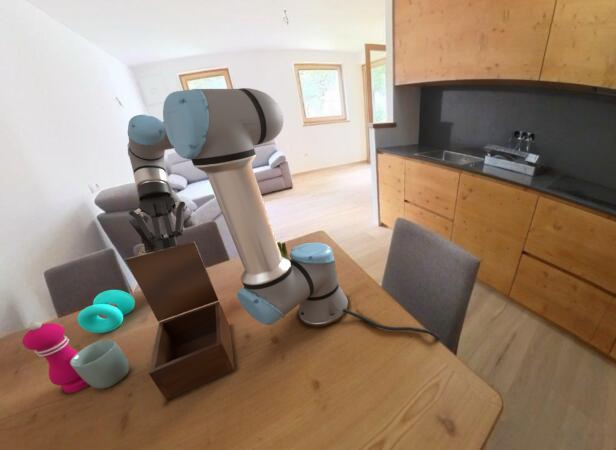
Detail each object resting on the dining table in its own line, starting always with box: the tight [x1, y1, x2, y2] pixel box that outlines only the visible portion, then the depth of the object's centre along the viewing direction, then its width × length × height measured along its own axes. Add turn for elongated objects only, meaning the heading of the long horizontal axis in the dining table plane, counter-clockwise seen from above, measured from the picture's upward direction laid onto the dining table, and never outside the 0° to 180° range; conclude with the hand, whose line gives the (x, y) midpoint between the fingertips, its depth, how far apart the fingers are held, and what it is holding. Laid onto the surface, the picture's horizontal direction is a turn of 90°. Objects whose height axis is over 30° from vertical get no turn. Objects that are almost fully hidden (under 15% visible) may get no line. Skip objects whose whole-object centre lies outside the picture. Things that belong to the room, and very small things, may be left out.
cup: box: [70, 338, 130, 390], centre depth 68 cm, size 8×8×10 cm
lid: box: [125, 240, 219, 322], centre depth 73 cm, size 19×14×1 cm
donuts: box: [77, 289, 136, 334], centre depth 86 cm, size 10×10×10 cm
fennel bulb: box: [277, 241, 291, 260], centre depth 109 cm, size 6×5×12 cm
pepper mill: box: [21, 321, 90, 394], centre depth 66 cm, size 7×7×20 cm
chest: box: [148, 301, 235, 402], centre depth 72 cm, size 18×14×10 cm
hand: (171, 260), depth 75 cm, fingers closed
